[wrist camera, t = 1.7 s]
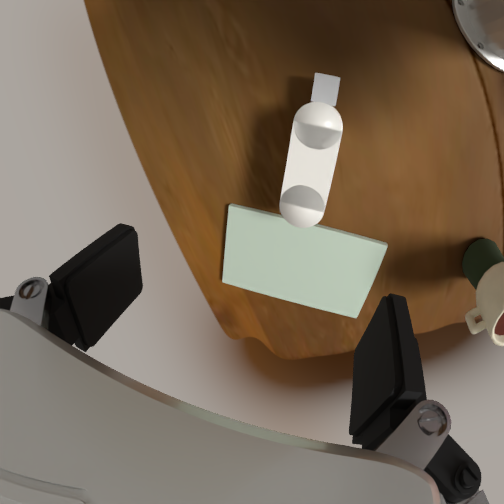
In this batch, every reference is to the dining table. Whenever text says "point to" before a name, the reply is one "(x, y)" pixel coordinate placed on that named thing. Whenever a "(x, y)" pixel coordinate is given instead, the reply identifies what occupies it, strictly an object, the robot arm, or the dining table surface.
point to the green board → (300, 261)
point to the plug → (312, 155)
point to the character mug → (486, 288)
